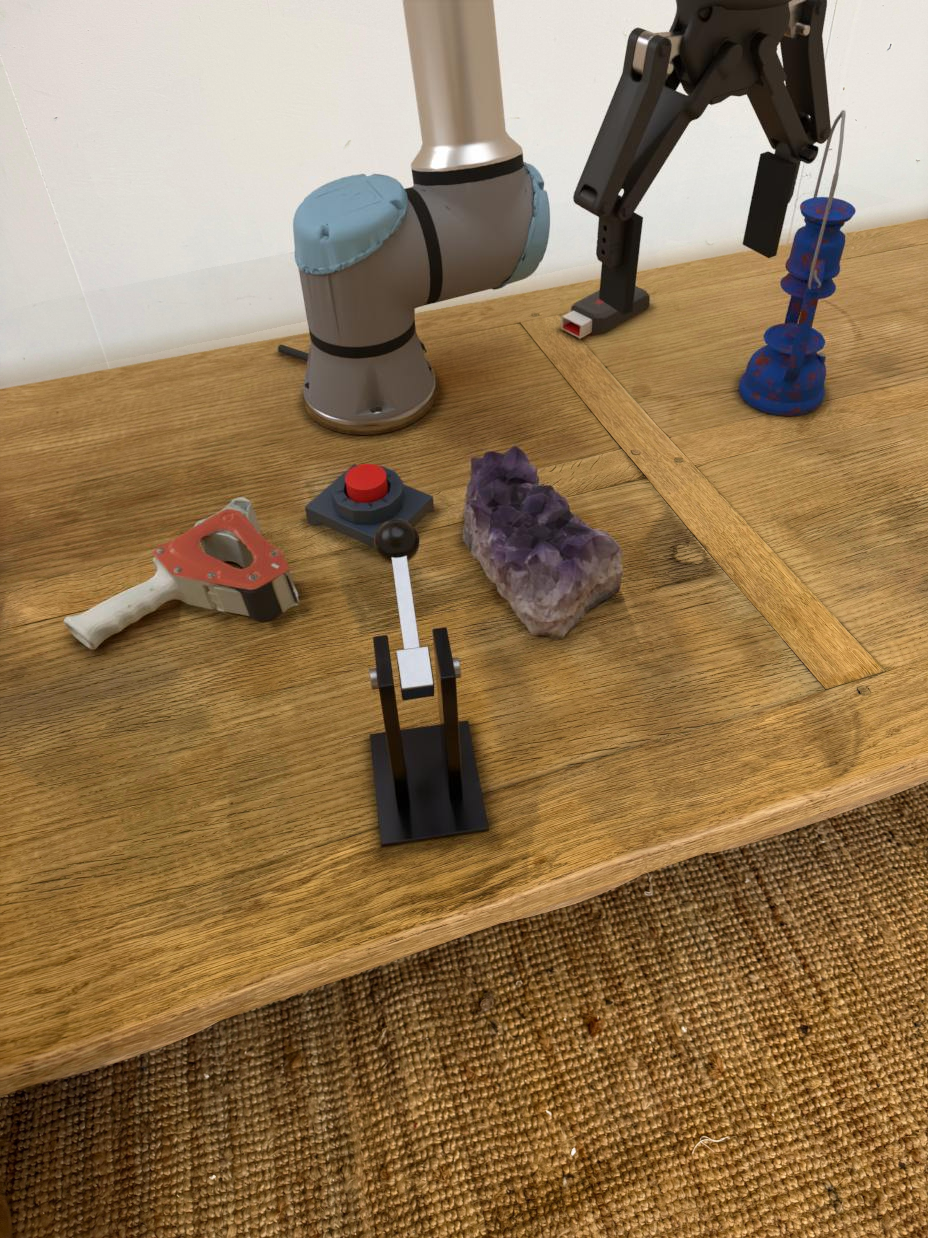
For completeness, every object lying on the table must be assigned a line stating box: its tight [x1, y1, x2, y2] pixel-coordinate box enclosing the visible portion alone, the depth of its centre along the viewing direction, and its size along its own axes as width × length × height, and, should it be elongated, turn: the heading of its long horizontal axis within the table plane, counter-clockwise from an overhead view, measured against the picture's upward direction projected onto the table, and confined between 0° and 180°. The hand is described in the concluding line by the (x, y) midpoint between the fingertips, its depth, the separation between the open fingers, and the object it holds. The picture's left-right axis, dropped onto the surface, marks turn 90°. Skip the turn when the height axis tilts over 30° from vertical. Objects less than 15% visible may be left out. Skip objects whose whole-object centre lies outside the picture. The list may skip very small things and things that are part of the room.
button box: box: [304, 463, 435, 549], centre depth 93 cm, size 10×8×4 cm
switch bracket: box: [368, 626, 490, 848], centre depth 67 cm, size 10×8×16 cm
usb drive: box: [560, 285, 651, 340], centre depth 118 cm, size 5×12×3 cm, turn 133°
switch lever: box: [374, 519, 435, 701], centre depth 64 cm, size 13×3×3 cm, turn 9°
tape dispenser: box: [63, 497, 300, 651], centre depth 86 cm, size 18×5×20 cm
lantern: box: [738, 109, 857, 417], centre depth 96 cm, size 11×9×30 cm
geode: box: [462, 445, 624, 640], centre depth 86 cm, size 20×12×10 cm, turn 30°
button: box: [345, 463, 388, 503], centre depth 91 cm, size 4×4×2 cm
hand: (689, 276), depth 67 cm, fingers open, 13 cm apart
